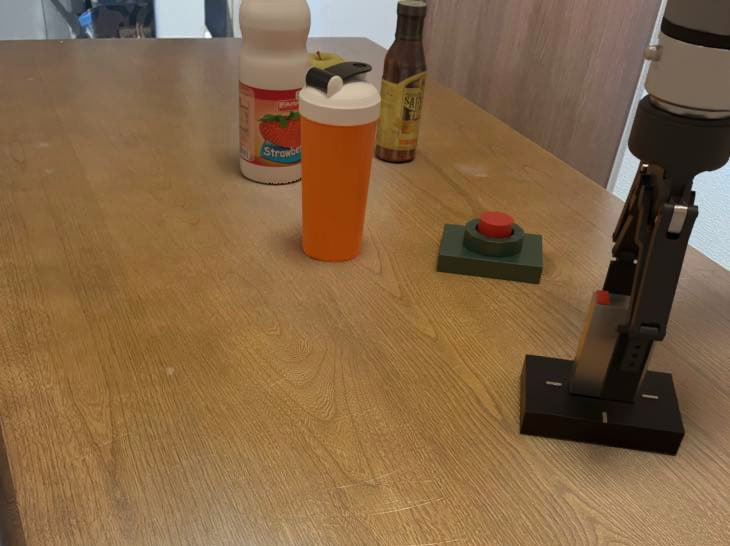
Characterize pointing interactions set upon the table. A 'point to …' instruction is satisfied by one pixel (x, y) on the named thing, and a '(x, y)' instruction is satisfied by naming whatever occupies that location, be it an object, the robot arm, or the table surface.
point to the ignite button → (495, 224)
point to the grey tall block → (599, 343)
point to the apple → (324, 60)
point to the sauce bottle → (403, 86)
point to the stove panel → (598, 410)
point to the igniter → (491, 254)
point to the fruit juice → (272, 87)
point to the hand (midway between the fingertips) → (610, 361)
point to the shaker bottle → (336, 158)
